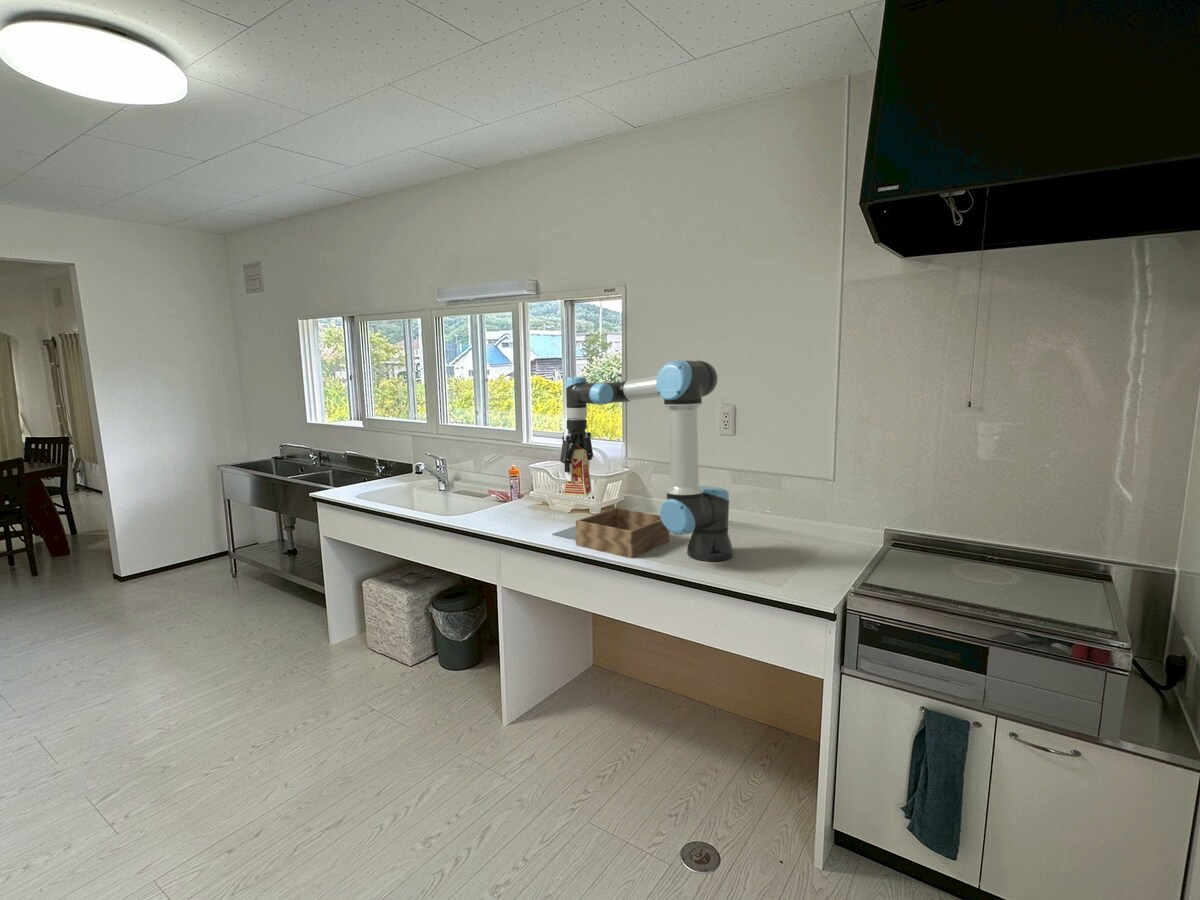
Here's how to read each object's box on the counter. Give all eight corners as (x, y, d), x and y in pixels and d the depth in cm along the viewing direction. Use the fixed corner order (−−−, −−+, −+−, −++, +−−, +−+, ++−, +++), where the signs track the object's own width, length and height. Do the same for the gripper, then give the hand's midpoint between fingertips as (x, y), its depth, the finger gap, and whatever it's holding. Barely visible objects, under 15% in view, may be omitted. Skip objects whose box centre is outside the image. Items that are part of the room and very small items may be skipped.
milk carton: (586, 496, 225) (586, 442, 222) (562, 495, 227) (561, 441, 224) (592, 491, 234) (591, 439, 231) (568, 490, 236) (568, 438, 233)
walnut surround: (669, 541, 222) (669, 517, 220) (631, 558, 203) (631, 531, 202) (616, 530, 236) (616, 507, 235) (575, 545, 217) (575, 520, 216)
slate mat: (604, 532, 233) (604, 531, 233) (580, 541, 223) (580, 540, 223) (576, 526, 242) (576, 525, 242) (552, 534, 231) (552, 533, 231)
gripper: (587, 416, 237) (587, 473, 240) (549, 420, 220) (550, 482, 223) (602, 417, 232) (602, 475, 236) (564, 421, 215) (565, 484, 219)
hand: (577, 478), depth 229 cm, fingers closed on milk carton, 9 cm apart
